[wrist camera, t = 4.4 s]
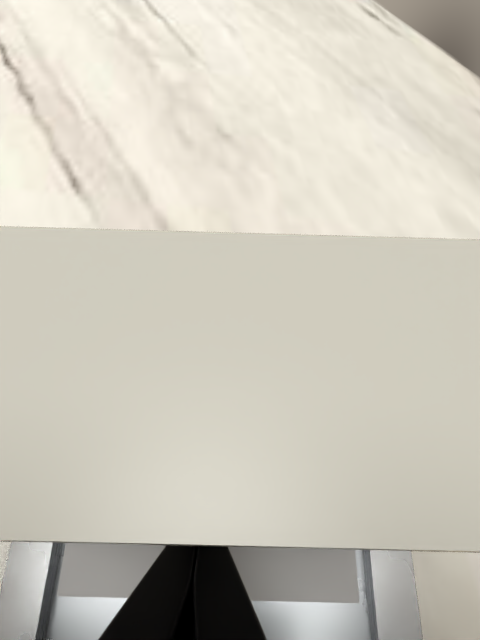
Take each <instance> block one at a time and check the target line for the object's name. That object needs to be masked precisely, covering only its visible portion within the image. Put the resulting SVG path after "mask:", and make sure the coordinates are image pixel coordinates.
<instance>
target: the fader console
mask: <svg viewBox="0 0 480 640" xmlns="http://www.w3.org/2000/svg"><path fill="white" fill-rule="evenodd" d="M65 545H66V543H49V542H11V545H10V550H9V554H8V559H7V563H6V568H5V572H4V577H3V581H2V586H1V591H0V640H98V639H99V637H100V636H101V635H102V633H103V632H104V631H105V629H106V628H107V626H108V625H109V624H110V622H111V621H112V619H113V618H114V617H115V615H116V614H117V613H118V611H119V610H120V608H121V607H122V606H123V604H124V603H125V601H126V600H127V599H128V598H108V597H64V596H57V591H58V585H59V579H60V574H61V568H62V562H63V556H64V550H65ZM355 554H356V566H357V578H358V590H359V602H360V603H327V602H283V601H251V603H252V605H253V607H254V610H255V612H256V615H257V617H258V619H259V622H260V624H261V626H262V629H263V631H264V634H265V636H266V638H267V640H423V638H422V630H421V622H420V615H419V607H418V600H417V592H416V584H415V577H414V569H413V562H412V554H411V551H389V550H355Z"/></svg>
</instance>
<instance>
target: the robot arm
mask: <svg viewBox="0 0 480 640" xmlns="http://www.w3.org/2000/svg"><path fill="white" fill-rule="evenodd" d="M98 640H267V638H266V636H265V634H264V631H263V629H262V626H261V624H260V622H259V619H258V617H257V615H256V612H255V610H254V607H253V605H252V603H251V600H250V598H249V596H248V593H247V591H246V588H245V586H244V584H243V581H242V579H241V576H240V574H239V572H238V569H237V567H236V565H235V562H234V560H233V557H232V555H231V553H230V550H229V548H228V547H219V546H176V545H166V546H165V547H164V549H163V550H162V552H161V553H160V554H159V556H158V557H157V558H156V560H155V561H154V563H153V564H152V565H151V567H150V568H149V570H148V571H147V572H146V574H145V575H144V576H143V578H142V579H141V581H140V582H139V583H138V585H137V586H136V588H135V589H134V590H133V592H132V593H131V595H130V596H129V597H128V599H127V600H126V601H125V603H124V604H123V606H122V607H121V608H120V610H119V611H118V613H117V614H116V615H115V617H114V618H113V619H112V621H111V622H110V624H109V625H108V626H107V628H106V629H105V631H104V632H103V633H102V635H101V636H100V637H99V639H98Z"/></svg>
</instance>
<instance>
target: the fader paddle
mask: <svg viewBox="0 0 480 640" xmlns="http://www.w3.org/2000/svg"><path fill="white" fill-rule="evenodd" d="M0 541H6V542H49V543H66V545H65V550H64V556H63V562H62V568H61V574H60V579H59V585H58V591H57V596H64V597H108V598H128V597H129V596H130V595H131V593H132V592H133V590H134V589H135V588H136V586H137V585H138V583H139V582H140V581H141V579H142V578H143V576H144V575H145V574H146V572H147V571H148V570H149V568H150V567H151V565H152V564H153V563H154V561H155V560H156V558H157V557H158V556H159V554H160V553H161V552H162V550H163V549H164V547H165V546H166V545H176V546H219V547H228V548H229V550H230V553H231V555H232V557H233V560H234V562H235V565H236V567H237V569H238V572H239V574H240V576H241V579H242V581H243V584H244V586H245V588H246V591H247V593H248V596H249V598H250V600H251V601H283V602H327V603H360V602H359V590H358V578H357V566H356V554H355V550H389V551H431V552H474V553H480V239H446V238H410V237H374V236H337V235H301V234H265V233H229V232H193V231H157V230H121V229H84V228H48V227H12V226H0Z"/></svg>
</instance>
